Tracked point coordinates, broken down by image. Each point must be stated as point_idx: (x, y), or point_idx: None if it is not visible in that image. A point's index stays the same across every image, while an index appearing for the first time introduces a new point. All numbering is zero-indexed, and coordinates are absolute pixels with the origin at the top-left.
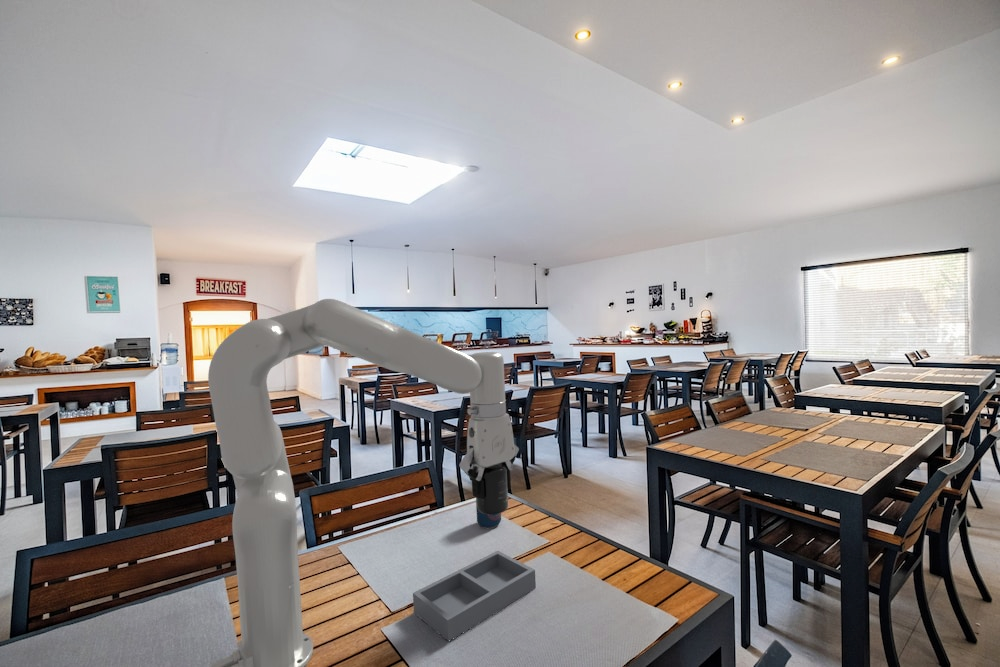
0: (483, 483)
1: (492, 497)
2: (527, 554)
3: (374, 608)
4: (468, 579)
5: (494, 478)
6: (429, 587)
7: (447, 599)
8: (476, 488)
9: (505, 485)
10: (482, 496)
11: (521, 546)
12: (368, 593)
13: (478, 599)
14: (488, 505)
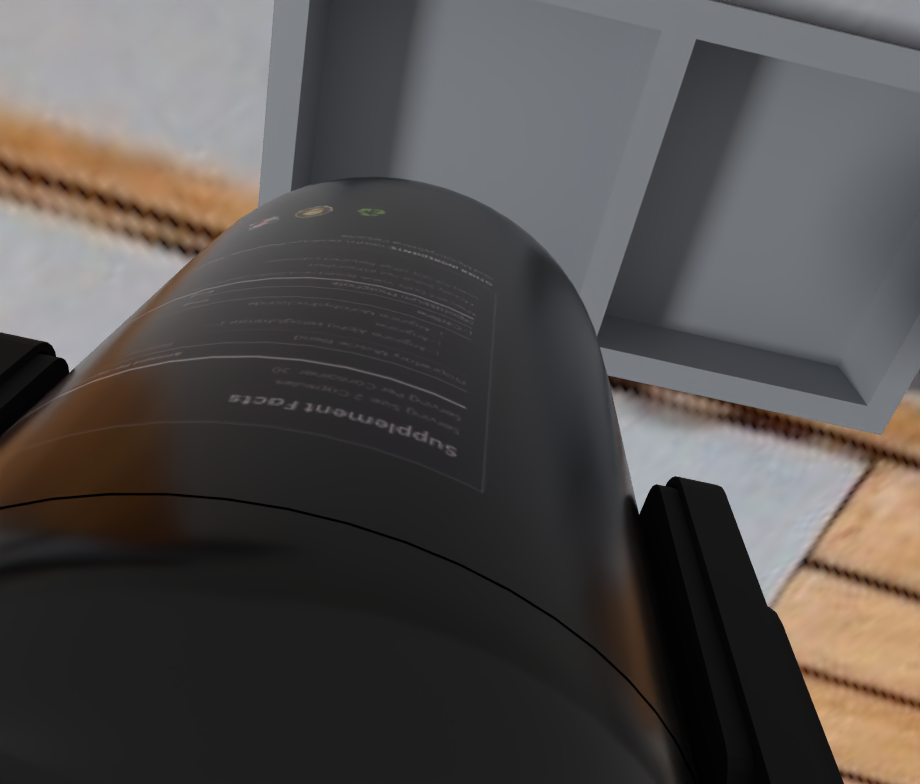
0: (751, 706)
1: (583, 370)
2: (54, 186)
3: (874, 537)
4: (619, 261)
5: (561, 620)
6: (799, 395)
7: (721, 294)
8: (809, 708)
9: (225, 326)
10: (726, 509)
11: (15, 270)
12: (789, 620)
13: (806, 54)
14: (601, 365)
